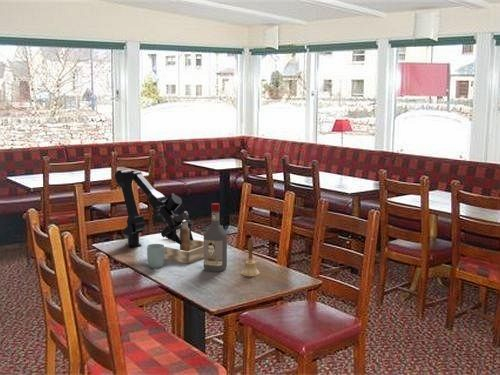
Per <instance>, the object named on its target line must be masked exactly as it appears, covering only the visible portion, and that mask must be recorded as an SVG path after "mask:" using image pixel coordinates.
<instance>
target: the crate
mask: <svg viewBox="0 0 500 375" xmlns="http://www.w3.org/2000/svg"><path fill="white" fill-rule="evenodd" d="M164 248H165V257H164V260H170V261H174V262H179V263H183V264H184V263H185V264H188V265H189V264H192V263H194V262H196V261H199V260H203V259H204V240H200V239H195V238H193V241H191V240H190V251H183V250H180V249H179V248H178V249H177V248H172V247H168V246H164Z"/></svg>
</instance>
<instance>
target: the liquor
mask: <svg viewBox="0 0 500 375" xmlns="http://www.w3.org/2000/svg"><path fill="white" fill-rule="evenodd" d="M220 207H221V205H220V203H218V202H214V203H213V202H211V223H210V225H209V227H208V228H207V229H206V230H205V232H204V234H203V241H204V258H203V268H204V270H205V271H206V272H212V273H213V272H214V273H221V272H223V271H225V270H226V269H227V267H228V266H227V265H228V260H227V259H228V233H227V231H226V230H225V229H224V227H223V226H222V225H221V223H220V210H221V208H220Z"/></svg>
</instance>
